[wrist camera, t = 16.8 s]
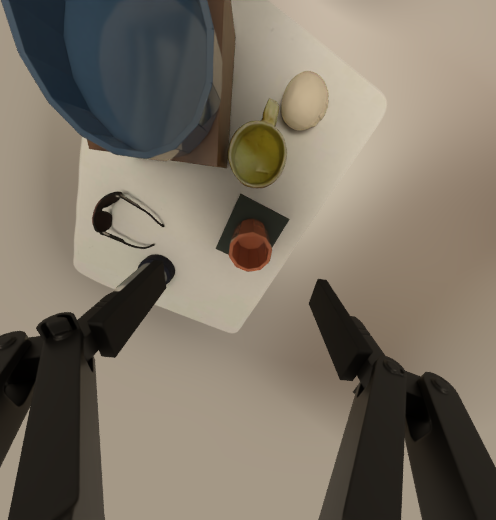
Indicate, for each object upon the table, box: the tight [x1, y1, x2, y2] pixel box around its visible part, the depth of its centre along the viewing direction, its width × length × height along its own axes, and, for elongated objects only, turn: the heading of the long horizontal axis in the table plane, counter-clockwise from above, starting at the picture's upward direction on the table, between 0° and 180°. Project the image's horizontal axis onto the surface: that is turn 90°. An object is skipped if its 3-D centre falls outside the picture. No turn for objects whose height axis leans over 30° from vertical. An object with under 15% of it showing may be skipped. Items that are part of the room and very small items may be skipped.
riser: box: [87, 0, 235, 168], centre depth 26 cm, size 18×18×11 cm
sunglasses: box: [92, 192, 164, 249], centre depth 39 cm, size 10×12×5 cm
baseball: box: [281, 71, 329, 130], centre depth 28 cm, size 7×7×7 cm
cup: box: [229, 219, 272, 272], centre depth 36 cm, size 8×8×10 cm
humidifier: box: [114, 255, 175, 291], centre depth 35 cm, size 8×8×25 cm
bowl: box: [1, 0, 223, 161], centre depth 18 cm, size 18×18×5 cm
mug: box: [228, 98, 287, 188], centre depth 31 cm, size 12×10×10 cm
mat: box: [216, 194, 289, 254], centre depth 41 cm, size 14×12×1 cm
